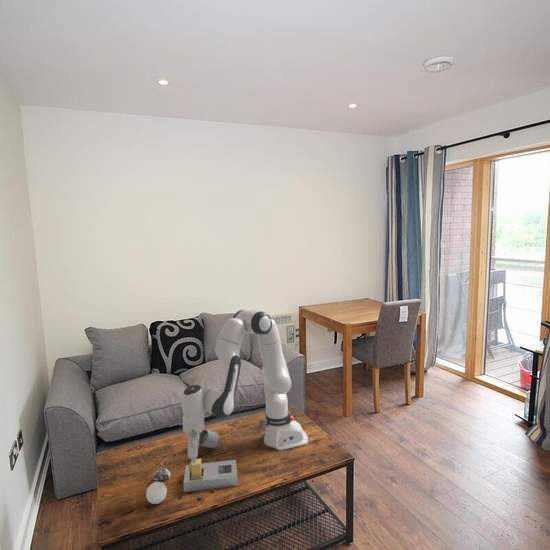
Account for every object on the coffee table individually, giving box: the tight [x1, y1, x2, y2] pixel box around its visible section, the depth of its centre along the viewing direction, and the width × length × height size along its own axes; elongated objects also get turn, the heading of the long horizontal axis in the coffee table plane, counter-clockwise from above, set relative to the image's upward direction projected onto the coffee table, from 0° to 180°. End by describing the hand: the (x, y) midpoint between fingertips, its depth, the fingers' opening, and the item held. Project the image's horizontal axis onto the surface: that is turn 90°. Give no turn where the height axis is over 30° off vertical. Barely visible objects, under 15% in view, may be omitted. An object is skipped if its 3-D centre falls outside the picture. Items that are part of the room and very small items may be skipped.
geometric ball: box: [145, 481, 168, 505], centre depth 149 cm, size 8×8×8 cm
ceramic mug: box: [198, 428, 220, 449], centre depth 187 cm, size 11×8×8 cm
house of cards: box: [152, 460, 172, 482], centre depth 161 cm, size 9×9×8 cm
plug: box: [188, 458, 202, 477], centre depth 160 cm, size 5×4×9 cm
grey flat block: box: [183, 459, 239, 493], centre depth 162 cm, size 22×12×4 cm, turn 99°
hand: (194, 455), depth 160 cm, fingers open, 8 cm apart
